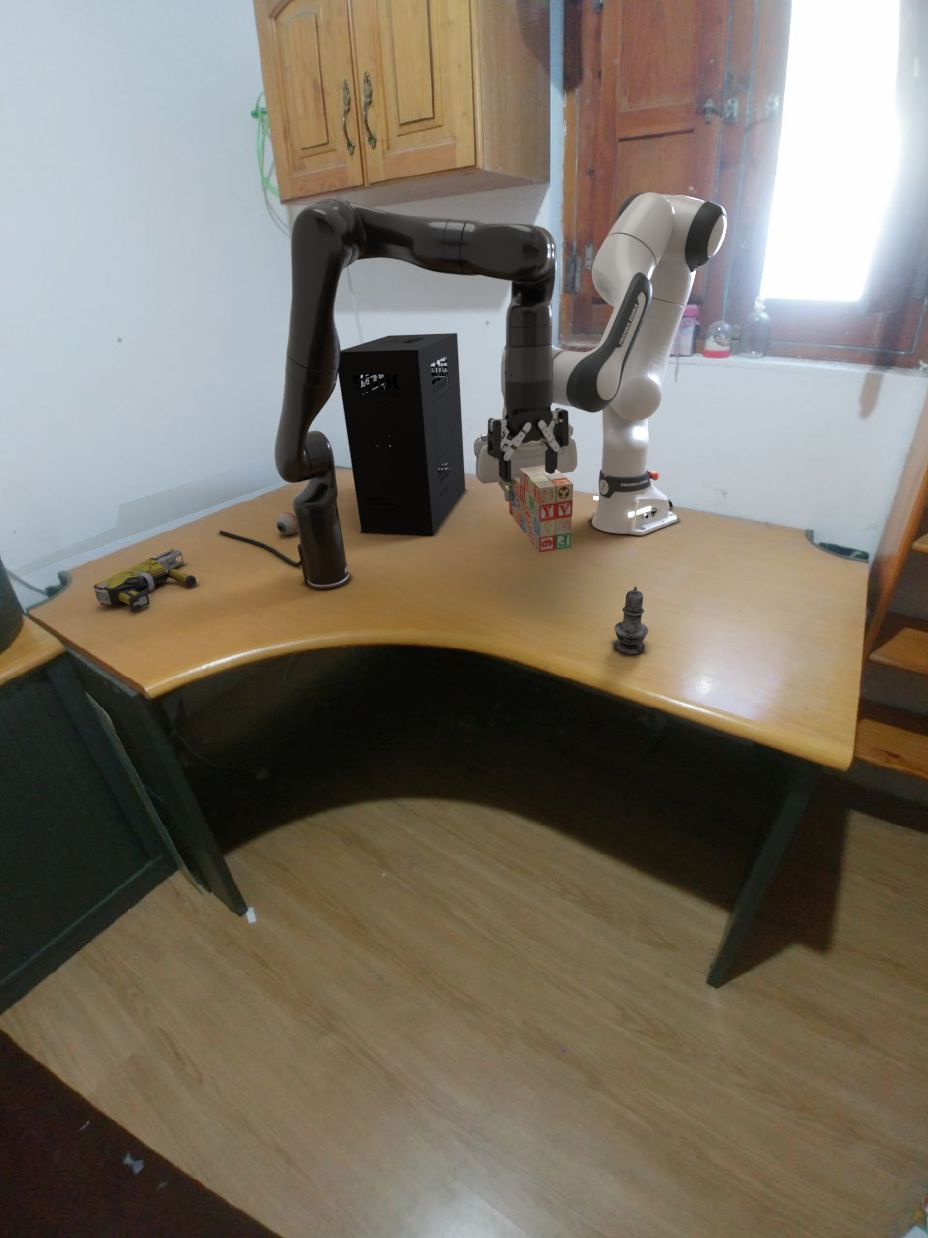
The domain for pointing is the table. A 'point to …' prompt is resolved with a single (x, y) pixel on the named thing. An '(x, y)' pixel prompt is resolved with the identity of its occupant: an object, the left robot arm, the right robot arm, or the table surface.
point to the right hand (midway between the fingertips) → (527, 498)
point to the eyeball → (286, 523)
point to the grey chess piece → (631, 625)
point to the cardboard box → (404, 431)
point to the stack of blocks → (543, 507)
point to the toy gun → (141, 581)
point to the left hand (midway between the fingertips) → (528, 476)
